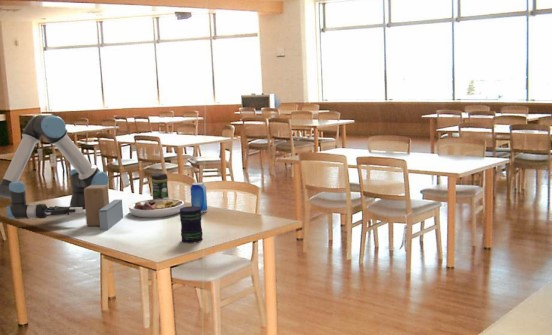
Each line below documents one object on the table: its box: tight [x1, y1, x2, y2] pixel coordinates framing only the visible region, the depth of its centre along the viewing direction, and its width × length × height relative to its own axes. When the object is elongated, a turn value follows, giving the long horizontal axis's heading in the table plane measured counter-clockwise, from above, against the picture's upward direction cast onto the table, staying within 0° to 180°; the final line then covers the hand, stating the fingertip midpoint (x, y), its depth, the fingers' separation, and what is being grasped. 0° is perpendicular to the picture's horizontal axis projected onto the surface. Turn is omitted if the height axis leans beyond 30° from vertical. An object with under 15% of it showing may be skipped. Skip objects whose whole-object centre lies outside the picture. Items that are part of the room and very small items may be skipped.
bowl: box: [128, 198, 185, 219], centre depth 364 cm, size 30×30×8 cm
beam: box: [99, 199, 124, 231], centre depth 341 cm, size 26×4×10 cm, turn 177°
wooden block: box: [84, 185, 110, 227], centre depth 341 cm, size 10×10×20 cm
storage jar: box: [179, 205, 203, 244], centre depth 302 cm, size 10×10×15 cm
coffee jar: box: [151, 172, 170, 199], centre depth 386 cm, size 10×8×19 cm
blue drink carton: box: [190, 181, 208, 214], centre depth 361 cm, size 8×8×16 cm
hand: (82, 210), depth 342 cm, fingers closed
